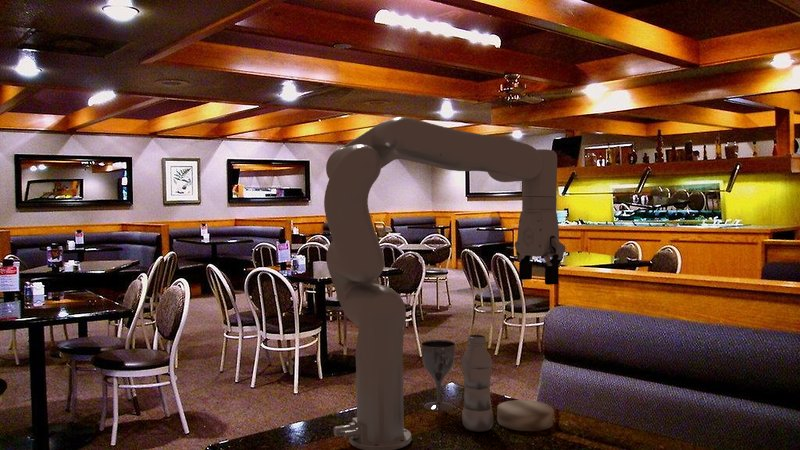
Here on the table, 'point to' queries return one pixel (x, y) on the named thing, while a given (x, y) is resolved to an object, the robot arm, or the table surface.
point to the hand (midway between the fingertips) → (538, 281)
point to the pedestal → (525, 415)
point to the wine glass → (438, 367)
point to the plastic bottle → (477, 385)
